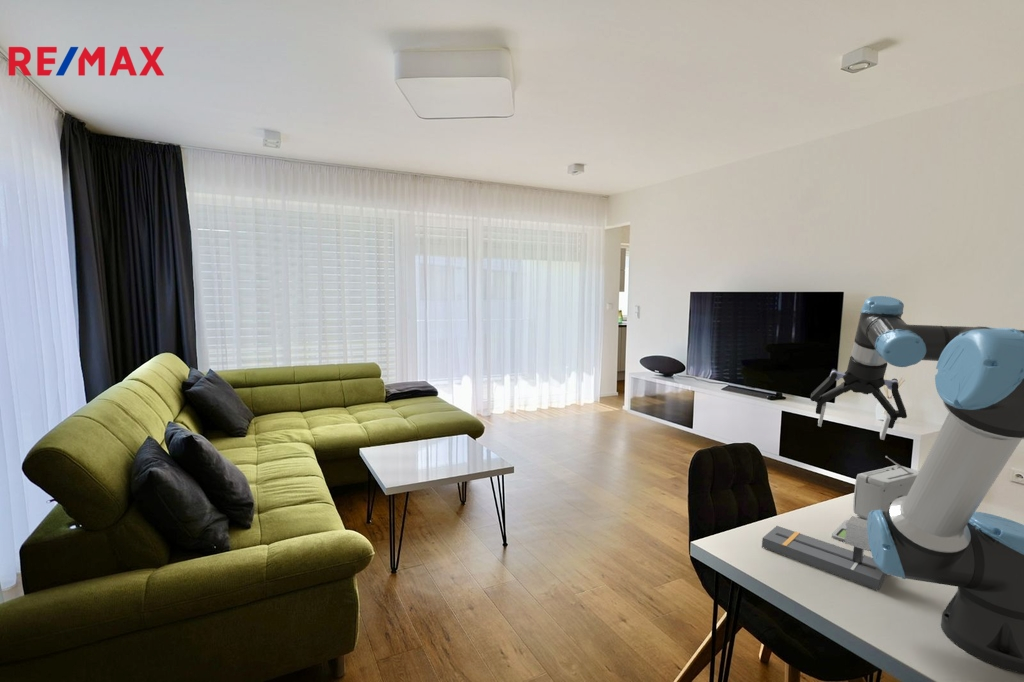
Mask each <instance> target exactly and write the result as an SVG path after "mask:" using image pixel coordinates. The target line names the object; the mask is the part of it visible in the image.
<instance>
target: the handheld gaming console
mask: <svg viewBox="0 0 1024 682" xmlns="http://www.w3.org/2000/svg"><path fill="white" fill-rule="evenodd" d="M848 520H849V519H846V520H844V521H843V522H842V523H841V524H840V525H839V526H838V527H837V528H836V529H835V530H834V531H833V532H832V533H831V538H832V539H833V540H837V541H839V542H842V543H845V536H846V526H847V522H848ZM869 551H870V552H871V550H869ZM869 551H868V552H869Z"/></svg>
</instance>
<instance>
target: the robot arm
mask: <svg viewBox="0 0 1024 682" xmlns="http://www.w3.org/2000/svg"><path fill="white" fill-rule="evenodd" d="M904 306H905V305H904V303H903V302H902V301H901V300H899V299H898V298H895V297H892V296H887V295H886V296H884V295H876V296H870V297H867V298H866V299H865V300H864V302H863V305H862V308H861V310H860V315H859V320H858V325H857V328H856V333H855V336H854V341H853V344H852V345H853V346H852V349H851V352H850V357H849V361H848V365H847V368H846V371H845V372H841V371H838V370H837V369H835V368H832V369H831V372H830V374H829V376H828V377H826V378H825V380H824V381H822V382H821V383H820V385H818V386H817V387H816V388H815V389H814V390H813V391H812V392H811V393H810V401H811V402H815V403H816V407H815V414H817V415H819V416H818V420H817V426H818V427H820V428H821V427H822V424H823V420H824V416H825V412H826V408H827V403H828V402H830V401H831V400H833V399H836V397H839V396H840V395H842V394H846V393H848V392H849V391H852V392H853V393H855V394H857V393H858V394H859V393H861V394H863V395H867V396H868V395H869V394H871V395H873V397H874V398H875V399H876V400H877V401H878V403H879V404H880V405H881V406H882V408H883V409H884V410H885V411H886V412H885V415H884V418H883V422H882V425H881V427H880V430H879V439H880V440H883V441H885V439H886V435H887V431H888V429H893V428H895V427H894V426H895V423H896V422H897V420H898V418H901V419H907V417H908V414H907V410H906V408H905V407H906V406H905V405H904V401H903V399H902V397H901V395H900V391H899V381H898V379H897V378H892V379H885V378H884V377H885V375H886V370H887V368H888V364H889V365H891V366H894V367H898V368H907V367H910V366H913V365H917V364H918V363H920V362H921V361H933V362H937V364H936V367H935V369H936V370H937V372H936V374H935V375H934V381H935V387H936V392H937V394H938V396H939V398H940V399H941V400H942V403H943V407H944V408H945V409H946V411H947V412H948V413H947V416H946V418H945V420H944V422H943V424H942V425H941V428H940V430H939V432H938V434H937V436H936V437H935V440H934V442H933V444H932V446H931V447H930V449H929V451H928V454H927V455H926V457H925V460H924V461H923V463H922V466H921V468H920V469H919V470H918V471H919V473H918V475H917V477H916V479H915V481H914V483H913V485H912V487H911V489H910V491H909V493H908V495H907V496H903V497H900V498H897V499H895V500H894V501H893V502H892V504H891V505H890V507H889V509H888V511H882V510H872V511H871V512H870V513H869V515H868V519H867V533H868V541H869V546H870V550H871V551H870V553H871V557H872V558H873V559H874V561H875V563H876V565H877V567H878V568H879V569H880V570H881V571H882V572H884V573H885V574H887V576H888V575H889V576H893V577H899V578H901V579H903V580H912V581H913V580H914V581H919V582H924V583H925V582H926V583H932V584H939V585H946V586H952V587H957V589H956V592H955V593H954V595H953V596H952V598H951V599H950V601H949V603H948V604H947V605H946V607H945V609H944V610H943V612H942V613H941V619H940V620H941V621H940V628H941V630H942V632H943V634H944V635H945V636H946V637H947V638H948V639H949V640H950V641H951V642H952V643H954V644H955V645H956V646H958V647H959V648H961V649H963V650H964V651H965V652H966V653H968V654H970V655H971V656H972V655H973V656H975V657H976V658H977V659H980V660H982V661H984V662H986V663H988V664H990V665H994V666H995V667H999V668H1002V669H1004V670H1008V671H1010V672H1013V673H1018V674H1022V675H1024V524H1023V523H1020V522H1017V521H1014V520H1012V519H1008V518H1006V517H1002V516H1000V515H999V516H998V515H995V514H991V513H987V512H981V511H977V509H978V508H979V507H980V504H981V503H982V502H983V500H984V498H985V497H986V496H987V494H988V492H989V491H990V489H991V488H992V486H993V484H994V483H995V482H996V481H997V478H998V477H999V475H1000V473H1001V472H1002V470H1003V469H1004V468H1005V466H1006V465H1007V463H1008V462H1009V460H1010V458H1011V457H1012V456H1013V453H1014V452H1015V451H1016V449H1017V448H1018V446H1019V444H1020V443H1021V441H1022V440H1024V329H1015V328H1010V327H989V326H956V325H955V326H954V325H953V326H952V325H950V326H949V325H948V326H947V325H927V324H908V323H906V322H905V321H904V319H903V318H902V316H903V314H904ZM840 379H843V382H841V383H840V384H839V385H837V386H835V387H833V388H832V389H830V390H828V389H829V388H831V386H832V385H833V384H834V383H835V381H839V380H840ZM884 386H886V387H887V389H888V390H891V394H892V397H893V401H894V402H895V405H896V409H897V410H896V409H895V407H893V405H892V404H891V402H890V401H889V400H888V398H887V397H886V396H885V395H884V393H883V392H882V390H881V388H882V387H884ZM827 390H828V391H827ZM826 391H827V392H826Z"/></svg>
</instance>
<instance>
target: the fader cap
mask: <svg viewBox="0 0 1024 682" xmlns="http://www.w3.org/2000/svg"><path fill="white" fill-rule="evenodd" d="M847 520H848V522H847V526H846V536H845V542H844V544H846V545H848V546H849V545H850V546H852V547H853V550H852V551H853V561H855V562H858V563H862V561H863V554H864V551H868V552H869V550H870V546H869V541H868V533H867V520H866V519H864V518H860V517H858V516H857V517H856V516H854V515H853V516H851V517H850V518H849V519H847Z"/></svg>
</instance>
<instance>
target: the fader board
mask: <svg viewBox="0 0 1024 682" xmlns="http://www.w3.org/2000/svg"><path fill="white" fill-rule="evenodd" d="M761 539H762V540H761V548H763V547H764V549H765V548H767V549H766V550H768V549H769V551H771V550H772V551H771V552H773V551H774V552H773V553H776V552H777V554H779V555H781V554H782V556H784V555H785V556H784V557H786V558H790V559H793V560H794V561H797V560H798V561H797V562H800V563H804V564H805V563H806V565H807V566H808V565H809V566H811V567H814V568H817V569H820V570H822V571H824V572H827V573H830V574H833V575H835V576H838V577H840V578H842V579H846V580H849V581H850V582H853V583H856V584H860V585H862V586H863V587H867V588H869V589H873V590H875V591H880V588H881V587H882V585H883V583H884V581H885V579H886V578H887V576H888V574H885V573H884V572H882V571H881V570H880V569H879V568H878V567H877V565H876V563H875V561H874V559H873V557H872V556H868V555H865V554H864V553H863V561H862V563H858V562H855V561H853V551H854V550H850V549H847V548H845V547H841V546H839V545H835V544H833V543H830V542H826V541H824V540H821V539H818V538H814V537H812V536H809V535H806V534H803V533H800V532H799V531H793V530H791V529H788V528H785V527H781V526H779V525H776V526H775V527H774V528H772V529H771V530H770V531H768V533H766V534H765V535H764V536H763V537H762V538H761ZM880 586H881V587H880Z"/></svg>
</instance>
